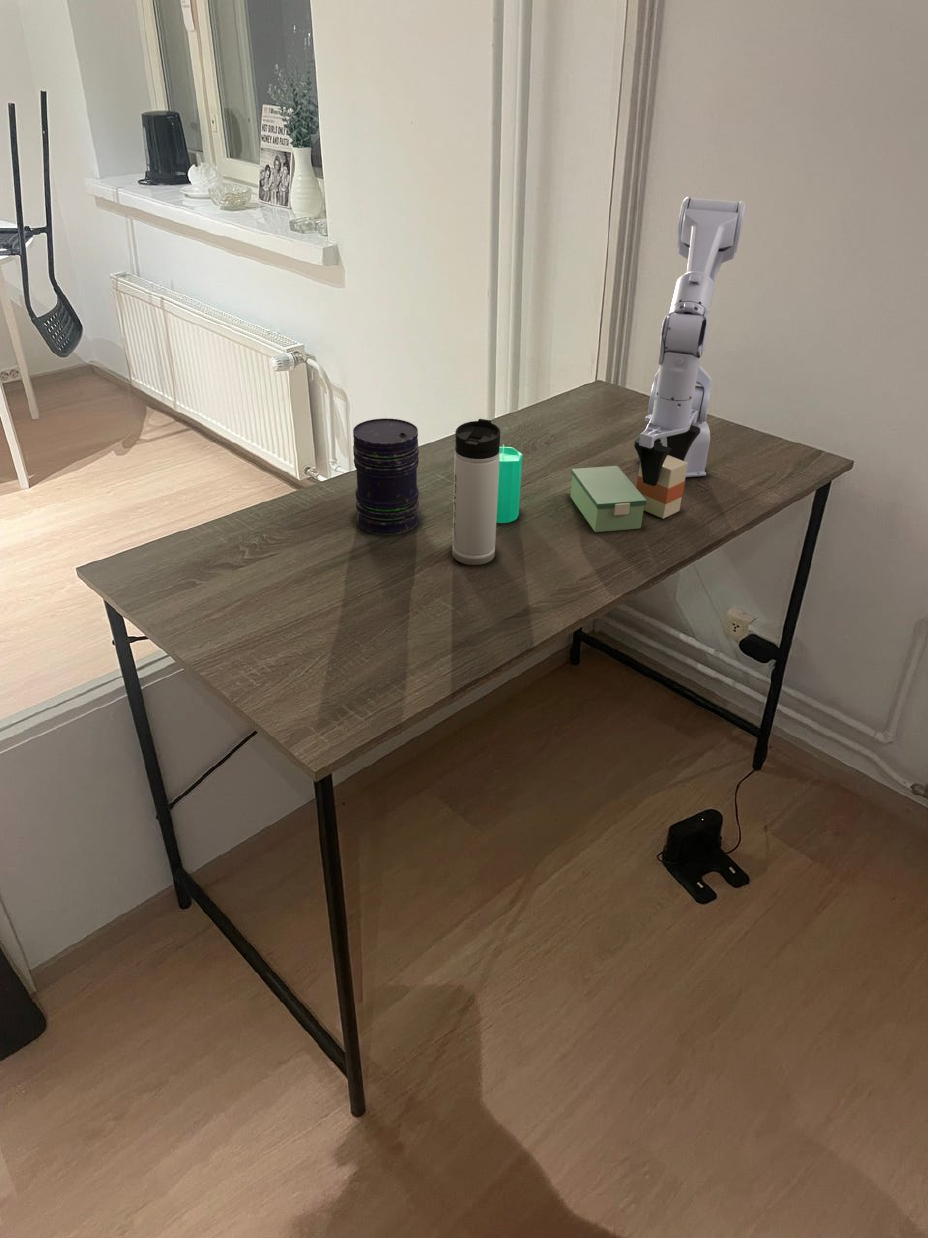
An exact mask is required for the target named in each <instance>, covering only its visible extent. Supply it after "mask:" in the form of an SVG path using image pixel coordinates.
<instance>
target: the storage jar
mask: <svg viewBox="0 0 928 1238" xmlns="http://www.w3.org/2000/svg"><path fill="white" fill-rule="evenodd" d="M352 434H353V435H352V437H353V446H352V452H353V453H352V454H353V465H354V468H355V469H356V471H355V472H356V487H355V492H354V496H355V509H356V514H357V516H356V522H357V523H356V524H357V525H358V526H359V527H360V528H361V529H362V530H364V531H365V532H368V533H372V534H375V535H384V536H385V535H386V536H389V535H400V534H403V533H406V532H409V531H411V530H413V529H414V528H415V527H416V526H417V525H418V524H419V509H420V508H419V507H420V497H419V496H420V491H419V490H420V489H419V486H418V485H417V484H418V483H417V482H418V474H417V471H418V470H417V469H418V468H419V462H420V458H419V455H420V446H419V439H418V437H419V430H418V427H417V426H416V425H415V424H413V423H412V422H410V421H406V420H403V419H399V418H383V417H382V418H375V419H368V420H364V421H362V422H360V423H358V424H356V425H355V426H354V427H353V429H352Z"/></svg>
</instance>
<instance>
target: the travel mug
mask: <svg viewBox="0 0 928 1238" xmlns="http://www.w3.org/2000/svg"><path fill="white" fill-rule="evenodd" d="M500 447H501V429H500V428H499V426H498V425H496V424H495V423H493V422H492V420H490V419H486V418H479V419H477V420H472V421H468V422H464V423H462V424H460V425H458V427H457V428H456V429H455V439H454V461H453V463H454V464H453V465H454V466H453V467H454V468H453V508H452V509H453V511H452V513H453V514H452V557H453V559H455V560H456V561H457V562H458V563H461V564H463V565H468V566H481V565H485V564H487V563H490V562H491V561H492V560H493V559H494V558H495V555H496V537H497V534H496V533H497V523H496V518H497V498H498V478H499V458H500V456H499V455H500Z"/></svg>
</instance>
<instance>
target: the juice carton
mask: <svg viewBox="0 0 928 1238" xmlns="http://www.w3.org/2000/svg"><path fill="white" fill-rule="evenodd" d="M687 465H688V463H687V462H684V461H682V460H679V459H677V458H674V457H672V456H669V455H667V457H666V459H665V461H664V463H663V466H662V469H661V473H660V476H659V480H658V482H657V484H656V485H655V486H651V485H648V484H645V483H643V478H642V470H641V463H640V462H639V467H638V473H637V474H638V475H637V478H636V485H635V487H636V488H637V490H638V491H639V492H640V493H641V494H642V495H643V497H644V498H645V499H646V500H647V502H646V505H644V509H643V511H645V512H647V513H649V514H652V515H654V516H656V517H658V518H661V519H666V518H667V517H670V516H672V515H674V514H677V513H678V512H680V511H681V504H682V498H683V496H684V490H685V485H686V478H687V477H686V471H687Z"/></svg>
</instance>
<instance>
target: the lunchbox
mask: <svg viewBox="0 0 928 1238" xmlns="http://www.w3.org/2000/svg"><path fill="white" fill-rule="evenodd" d="M570 474H571V475H572V478H571V488H570V498H571V500H572V502H573V503H574V504H575V506H576V508H578V510H579V511H580V513H581V514H582V515H583V517H584V519H585V520H586V521H587V523H588V524H589V525H590V527H591V528H592V530H593V531H594V533H603V532H614V531H625V530H627V531H628V530H639V529H642V524H643V523H642V522H643V515H644V510H643V509H644V505H646V502H647V500H646V499H645V498H644V497H643V495H642V494H641V493H640V492H639V491H638V490H637V488H636V485H634V484H633V482H632V481H631V480H630V479H629V478H628V477H627V475H626V474H625V472H624V471H622V469H621V468H620V467H619V466H618V465H610V466H596V467H595V466H594V467H593V466H592V467H581V468H571V472H570Z"/></svg>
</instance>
